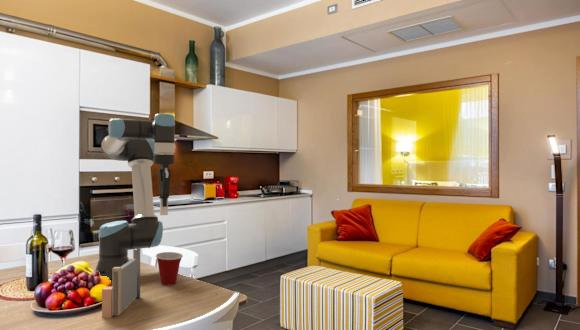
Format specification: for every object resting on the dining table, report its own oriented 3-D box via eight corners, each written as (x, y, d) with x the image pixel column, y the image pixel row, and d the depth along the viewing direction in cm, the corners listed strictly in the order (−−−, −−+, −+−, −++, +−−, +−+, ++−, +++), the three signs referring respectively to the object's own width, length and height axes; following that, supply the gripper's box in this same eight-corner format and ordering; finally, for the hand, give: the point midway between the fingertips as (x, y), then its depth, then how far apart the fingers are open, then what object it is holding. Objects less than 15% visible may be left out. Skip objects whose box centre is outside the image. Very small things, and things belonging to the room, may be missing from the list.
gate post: (132, 297, 148) (132, 248, 148) (139, 296, 149) (139, 248, 149) (133, 299, 146) (133, 250, 146) (140, 298, 147) (140, 249, 147)
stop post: (105, 313, 132) (106, 286, 132) (115, 313, 132) (115, 286, 132) (101, 317, 129) (102, 289, 129) (111, 317, 129) (111, 289, 129)
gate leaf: (131, 297, 145) (131, 255, 145) (137, 297, 145) (137, 255, 145) (112, 314, 128) (112, 268, 128) (119, 314, 128) (119, 268, 128)
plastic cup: (175, 288, 159) (175, 258, 159) (150, 286, 161) (150, 256, 161) (187, 280, 170) (187, 252, 169) (164, 278, 172) (164, 250, 172)
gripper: (177, 154, 150) (177, 216, 151) (171, 154, 162) (170, 212, 163) (156, 154, 147) (156, 217, 148) (151, 153, 159) (151, 213, 159)
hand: (163, 214), depth 155 cm, fingers closed
